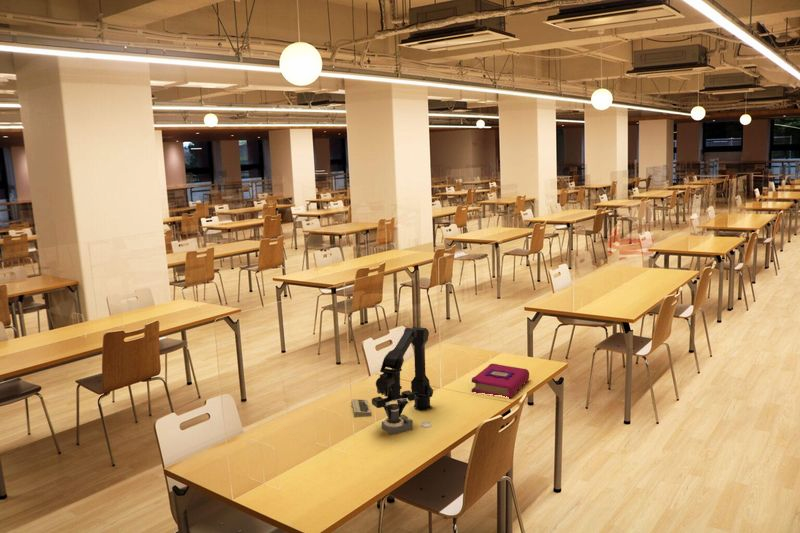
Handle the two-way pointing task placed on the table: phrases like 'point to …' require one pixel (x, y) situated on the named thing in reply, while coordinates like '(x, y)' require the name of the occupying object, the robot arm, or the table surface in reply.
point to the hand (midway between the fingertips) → (393, 417)
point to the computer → (360, 408)
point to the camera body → (398, 425)
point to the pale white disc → (426, 424)
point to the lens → (394, 413)
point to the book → (500, 380)
